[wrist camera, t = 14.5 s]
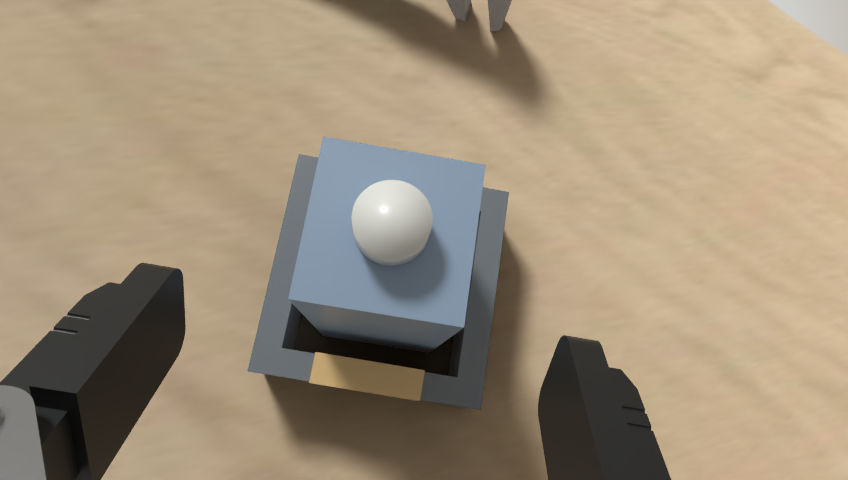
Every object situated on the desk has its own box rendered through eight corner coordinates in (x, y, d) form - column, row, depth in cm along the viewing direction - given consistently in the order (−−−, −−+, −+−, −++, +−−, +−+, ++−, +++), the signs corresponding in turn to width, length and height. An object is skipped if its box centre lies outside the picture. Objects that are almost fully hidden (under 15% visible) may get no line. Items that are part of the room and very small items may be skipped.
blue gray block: (428, 353, 24) (470, 322, 14) (323, 335, 24) (281, 292, 14) (444, 250, 26) (492, 150, 15) (343, 233, 25) (319, 120, 15)
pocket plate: (467, 408, 24) (481, 411, 21) (262, 375, 24) (245, 372, 20) (493, 214, 26) (510, 190, 23) (307, 180, 26) (298, 151, 23)
